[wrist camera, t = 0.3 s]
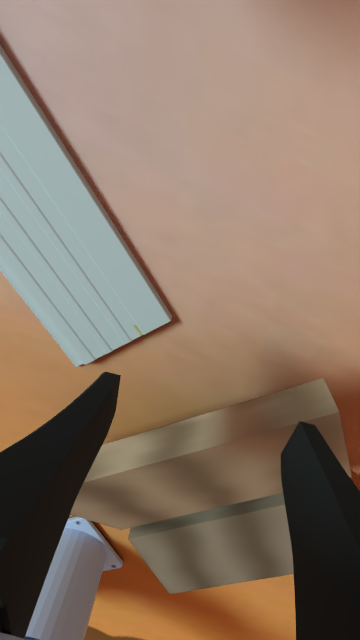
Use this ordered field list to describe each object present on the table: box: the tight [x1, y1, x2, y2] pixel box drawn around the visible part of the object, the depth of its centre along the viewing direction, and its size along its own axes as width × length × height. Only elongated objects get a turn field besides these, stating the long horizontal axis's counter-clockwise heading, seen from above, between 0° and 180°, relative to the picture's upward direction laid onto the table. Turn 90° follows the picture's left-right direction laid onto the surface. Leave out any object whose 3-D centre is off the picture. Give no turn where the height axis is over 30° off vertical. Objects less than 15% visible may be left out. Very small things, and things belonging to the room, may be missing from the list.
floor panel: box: [128, 493, 294, 594], centre depth 29 cm, size 20×10×2 cm, turn 115°
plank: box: [70, 378, 352, 530], centre depth 23 cm, size 20×12×2 cm, turn 115°
